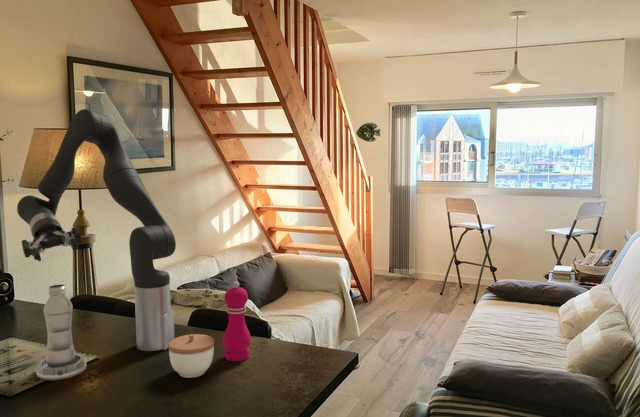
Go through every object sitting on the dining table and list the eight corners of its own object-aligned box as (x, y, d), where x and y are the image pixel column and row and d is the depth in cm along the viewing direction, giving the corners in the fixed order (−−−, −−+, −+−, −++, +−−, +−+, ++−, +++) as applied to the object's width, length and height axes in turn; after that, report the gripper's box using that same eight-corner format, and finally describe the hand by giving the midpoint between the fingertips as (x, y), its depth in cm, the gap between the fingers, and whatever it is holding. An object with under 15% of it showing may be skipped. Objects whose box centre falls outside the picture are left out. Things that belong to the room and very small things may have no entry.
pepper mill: (248, 362, 134) (247, 285, 132) (220, 362, 134) (218, 285, 132) (253, 351, 141) (252, 278, 139) (226, 351, 141) (224, 278, 139)
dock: (95, 362, 134) (94, 353, 133) (69, 381, 123) (68, 371, 123) (55, 360, 135) (54, 351, 135) (25, 378, 124) (25, 368, 124)
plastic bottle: (46, 374, 124) (41, 291, 122) (46, 364, 130) (41, 284, 128) (76, 369, 127) (72, 287, 125) (75, 359, 133) (71, 281, 131)
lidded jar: (198, 384, 121) (197, 345, 120) (159, 378, 125) (158, 339, 124) (223, 367, 131) (222, 330, 130) (186, 361, 135) (185, 325, 134)
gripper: (14, 224, 144) (23, 248, 132) (70, 211, 151) (83, 232, 139) (21, 248, 147) (30, 273, 135) (75, 234, 154) (88, 257, 142)
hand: (57, 253), depth 137 cm, fingers open, 8 cm apart
